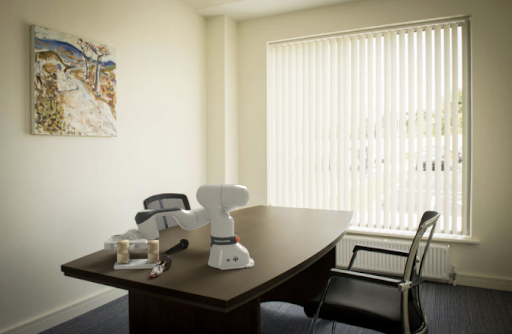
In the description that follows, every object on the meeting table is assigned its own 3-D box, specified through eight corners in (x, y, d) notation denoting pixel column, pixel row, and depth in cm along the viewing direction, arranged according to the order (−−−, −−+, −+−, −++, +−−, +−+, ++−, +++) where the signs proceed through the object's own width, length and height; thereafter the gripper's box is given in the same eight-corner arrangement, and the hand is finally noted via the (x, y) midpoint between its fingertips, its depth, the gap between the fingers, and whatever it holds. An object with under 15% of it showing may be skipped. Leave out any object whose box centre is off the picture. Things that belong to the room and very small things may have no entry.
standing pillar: (158, 260, 182) (158, 239, 181) (157, 263, 177) (157, 242, 177) (149, 260, 181) (149, 240, 181) (147, 263, 177) (147, 242, 176)
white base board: (162, 261, 185) (162, 258, 185) (159, 268, 175) (159, 264, 175) (118, 262, 182) (118, 259, 182) (113, 269, 172) (112, 266, 172)
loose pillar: (129, 260, 180) (129, 239, 180) (127, 263, 176) (127, 242, 175) (119, 260, 180) (119, 239, 179) (117, 263, 175) (117, 242, 175)
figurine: (173, 251, 176) (153, 267, 159) (177, 264, 177) (157, 281, 160) (159, 253, 178) (138, 269, 161) (163, 266, 179) (142, 284, 162)
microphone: (165, 262, 195) (190, 248, 212) (167, 252, 193) (191, 239, 210) (158, 257, 197) (182, 244, 214) (159, 248, 195) (184, 235, 212)
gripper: (150, 247, 191) (145, 254, 178) (108, 247, 189) (100, 255, 175) (150, 234, 191) (145, 241, 177) (108, 235, 189) (100, 242, 175)
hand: (122, 248), depth 176 cm, fingers open, 5 cm apart
